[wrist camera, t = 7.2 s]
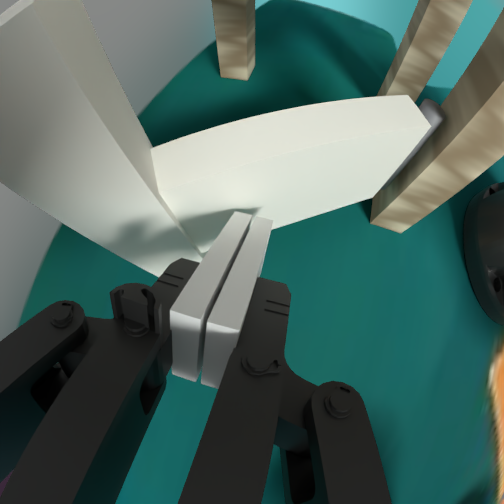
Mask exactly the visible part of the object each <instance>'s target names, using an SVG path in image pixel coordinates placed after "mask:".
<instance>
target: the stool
mask: <svg viewBox="0 0 504 504" xmlns="http://www.w3.org/2000/svg"><path fill="white" fill-rule="evenodd" d="M472 1H473V0H419V1H418V4H417V6H416V9H415V11H414V13H413V16H412V18H411V21H410V23H409V25H408V28H407V30H406V33H405V35H404V37H403V39H402V42H401V44H400V47H399V49H398V51H397V53H396V55H395V58H394V60H393V62H392V64H391V66H390V69H389V71H388V73H387V75H386V77H385V79H384V82H383V84H382V86H381V88H380V90H379V92H378V94H377V96H376V97H378V96H394V95H408V96H409V97H410V98H411V99H412V101H413V102H414V103H415V101H416V100H417V98H418V97H419V95H420V93H421V92H422V90H423V89H424V87H425V85H426V84H427V82H428V80H429V79H430V77H431V75H432V74H433V72H434V70H435V69H436V67H437V65H438V64H439V62H440V60H441V58H442V57H443V55H444V53H445V51H446V49H447V48H448V46H449V44H450V42H451V41H452V39H453V37H454V35H455V33H456V31H457V30H458V27H459V26H460V24H461V22H462V20H463V18H464V16H465V15H466V13H467V11H468V9H469V7H470V4H471V3H472ZM212 7H213V16H214V25H215V33H216V42H217V50H218V58H219V66H220V74H221V77H225V78H233V79H241V80H248V79H249V77H250V75H251V73H252V71H253V69H254V67H255V0H212ZM441 108H442V109H443V110H444V112H445V115H446V118H445V119H444V121H443V122H442V123H441V124H440V126H439V127H438V128H437V129H436V131H435V132H434V133H433V134H432V136H431V137H430V138H429V139H428V140H427V142H426V143H425V144H424V145H423V146H422V148H421V149H420V150H419V151H418V152H417V154H416V155H415V156H414V157H413V158H412V160H411V161H410V162H409V163H408V164H407V165H406V167H405V168H404V169H403V170H402V171H401V172H400V173H399V175H398V176H397V177H396V178H395V179H394V180H393V181H392V183H391V184H390V185H389V186H388V187H387V188H386V189H384V190H379V191H378V192H377V193H376V194H375V195H374V197H373V200H372V210H371V219H370V223H371V224H374V225H377V226H380V227H383V228H386V229H389V230H392V231H395V232H398V233H402V232H403V231H405V230H406V229H408V228H409V227H411V226H412V225H414V224H415V223H416V222H418V221H419V220H421V219H422V218H423V217H425V216H426V215H428V214H429V213H430V212H432V211H433V210H435V209H436V208H437V207H439V206H440V205H441V204H443V203H444V202H445V201H447V200H448V199H449V198H451V197H452V196H453V195H455V194H456V193H457V192H459V191H460V190H461V189H463V188H464V187H465V186H466V185H468V184H469V183H470V182H472V181H473V180H474V179H475V178H477V177H478V176H479V175H480V174H482V173H483V172H484V171H485V170H487V169H488V168H489V167H490V166H491V165H493V164H494V163H495V162H496V161H497V160H499V159H500V158H501V157H502V156H503V155H504V8H503V10H502V12H501V14H500V15H499V17H498V19H497V21H496V22H495V24H494V26H493V28H492V29H491V31H490V33H489V34H488V36H487V38H486V39H485V41H484V42H483V44H482V46H481V47H480V49H479V50H478V52H477V53H476V55H475V57H474V58H473V60H472V61H471V63H470V64H469V66H468V67H467V69H466V70H465V72H464V73H463V75H462V76H461V78H460V79H459V80H458V82H457V83H456V85H455V86H454V88H453V89H452V91H451V92H450V93H449V95H448V96H447V98H446V99H445V100H444V102H443V103H442V105H441Z"/></svg>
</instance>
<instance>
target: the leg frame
mask: <svg viewBox="0 0 504 504" xmlns="http://www.w3.org/2000/svg"><path fill="white" fill-rule="evenodd" d="M445 118H446V115H445V112H444V110H443V109H442V108H441V106H440V105H438V104H437V103H436V102H434V101H433V100H430V99H424V100H423V102H422V103H421V105H420V106H419V108H418V107H417V106H416V105H415V103H414V102H413V101H412V99H411V98H410V97H409V96H408V95H394V96H378V97H366V98H356V99H347V100H339V101H332V102H325V103H318V104H312V105H306V106H300V107H295V108H290V109H285V110H280V111H275V112H271V113H266V114H262V115H258V116H253V117H249V118H245V119H241V120H238V121H234V122H230V123H227V124H223V125H220V126H216V127H213V128H209V129H206V130H203V131H200V132H197V133H193V134H190V135H187V136H184V137H181V138H179V139H176V140H173V141H170V142H167V143H165V144H162V145H159V146H156V147H154V148H153V147H152V145H151V143H150V141H149V139H148V137H147V135H146V133H145V131H144V129H143V128H142V126H141V124H140V122H139V120H138V118H137V116H136V114H135V112H134V110H133V108H132V106H131V104H130V102H129V100H128V98H127V96H126V94H125V92H124V90H123V88H122V86H121V84H120V82H119V80H118V78H117V76H116V74H115V72H114V70H113V68H112V66H111V64H110V62H109V60H108V57H107V55H106V53H105V51H104V49H103V47H102V44H101V42H100V40H99V38H98V36H97V34H96V31H95V29H94V27H93V25H92V22H91V20H90V18H89V16H88V13H87V11H86V9H85V6H84V4H83V2H82V0H19V1H18V2H16V3H15V4H14V5H12V6H11V7H10V8H9V9H7V10H6V11H5V12H4V13H2V14H1V15H0V182H1V183H3V184H4V185H5V186H7V187H8V188H10V189H11V190H13V191H14V192H15V193H17V194H18V195H20V196H22V197H23V198H24V199H26V200H27V201H29V202H30V203H32V204H33V205H35V206H36V207H38V208H39V209H41V210H43V211H44V212H46V213H47V214H49V215H50V216H52V217H54V218H55V219H57V220H58V221H60V222H62V223H63V224H65V225H67V226H68V227H70V228H72V229H73V230H75V231H77V232H78V233H80V234H82V235H83V236H85V237H87V238H88V239H90V240H92V241H94V242H95V243H97V244H99V245H101V246H102V247H104V248H106V249H108V250H109V251H111V252H113V253H115V254H117V255H118V256H120V257H122V258H124V259H126V260H127V261H129V262H131V263H133V264H135V265H137V266H139V267H140V268H142V269H144V270H146V271H148V272H150V273H152V274H154V275H156V276H158V277H160V276H161V275H162V274H163V272H164V271H165V270H166V268H167V267H168V266H169V265H170V264H171V263H172V262H174V261H176V260H178V259H180V258H185V259H188V260H192V261H196V262H199V263H200V262H201V261H202V259H203V258H204V256H205V255H206V253H207V252H206V251H208V250H209V249H210V247H211V246H212V244H213V243H214V241H215V240H216V238H217V237H218V236H219V234H220V233H221V231H222V230H223V228H224V227H225V225H226V224H227V222H228V221H229V219H230V218H231V216H232V215H233V214H234V212H235V211H237V212H241V213H245V214H249V215H252V220H251V225H250V228H251V226H252V223H253V221H254V219H255V217H256V216H258V217H262V218H266V219H270V220H273V224H272V228H271V230H272V229H275V228H278V227H281V226H285V225H288V224H291V223H294V222H297V221H300V220H303V219H306V218H309V217H312V216H315V215H319V214H322V213H325V212H328V211H331V210H334V209H337V208H341V207H344V206H347V205H350V204H353V203H356V202H360V201H363V200H366V199H369V198H372V197H374V195H375V194H376V193H377V192H378V191H379V190H384V189H386V188H387V187H388V186H389V185H390V184H391V183H392V181H393V180H394V179H395V178H396V177H397V176H398V175H399V173H400V172H401V171H402V170H403V169H404V168H405V167H406V165H407V164H408V163H409V162H410V161H411V160H412V158H413V157H414V156H415V155H416V154H417V152H418V151H419V150H420V149H421V148H422V146H423V145H424V144H425V143H426V142H427V140H428V139H429V138H430V137H431V136H432V134H433V133H434V132H435V131H436V129H437V128H438V127H439V126H440V124H441V123H442V122H443V121H444V119H445Z"/></svg>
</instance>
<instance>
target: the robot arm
mask: <svg viewBox="0 0 504 504" xmlns="http://www.w3.org/2000/svg"><path fill="white" fill-rule="evenodd" d="M251 220H252V215H249V214H245V213H241V212H237V211H235V212H234V214H233V215H232V216H231V218H230V219H229V221H228V222H227V224H226V225H225V227H224V228H223V230H222V231H221V233H220V234H219V236H218V237H217V238H216V240H215V241H214V243H213V244H212V246H211V247H210V249H209V250H208V252H207V253H206V255H205V256H204V258H203V259H202V261H201V262H200V263H199V262H196V261H192V260H188V259H185V258H180V259H178V260H176V261H174V262H172V263H171V264H170V265H169V266H168V267H167V268H166V270H165V271H164V272H163V274H162V275H161V276H160V277H159V278H158V280H157V281H156V282H155V283H154V285H153V286H152V287H149V286H147V285H145V284H139V283H129V284H124V285H121V286H118V287H116V288H115V289H113V290H112V291H111V292H110V298H111V304H112V309H113V314H114V318H113V319H101V318H93V317H86V316H85V313H84V310H83V308H82V307H81V306H80V305H79V304H77V303H76V302H74V301H67V300H64V301H58V302H55V303H53V304H51V305H50V306H48V307H47V308H45V309H44V310H42V311H41V312H40V313H38V314H37V315H35V316H34V317H33V318H31V319H30V320H28V321H27V322H26V323H24V324H23V325H21V326H20V327H19V328H17V329H16V330H15V331H14V332H12V333H11V334H9V335H8V336H7V337H6V338H4V339H3V340H2V341H0V483H1V482H2V481H3V480H4V479H5V478H6V477H7V476H8V475H9V473H10V472H11V471H12V470H13V469H14V468H15V469H14V471H13V473H12V474H11V476H10V478H9V480H8V482H7V484H6V487H5V489H4V491H3V493H2V495H1V497H0V504H115V502H116V500H117V498H118V495H119V493H120V490H121V488H122V486H123V483H124V481H125V479H126V476H127V474H128V472H129V469H130V467H131V465H132V462H133V460H134V458H135V455H136V453H137V451H138V449H139V446H140V444H141V442H142V439H143V437H144V435H145V433H146V430H147V428H148V426H149V424H150V421H151V419H152V417H153V415H154V413H155V410H156V408H157V406H158V404H159V402H160V399H161V397H162V395H163V393H164V391H165V387H166V376H167V374H168V372H169V370H170V368H171V366H172V374H174V375H177V376H179V377H182V378H185V379H188V380H191V381H194V382H196V381H197V378H198V376H199V373H200V371H201V368H202V378H201V384H204V385H207V386H211V387H214V388H218V392H217V395H216V398H215V400H214V403H213V406H212V409H211V412H210V415H209V418H208V421H207V423H206V426H205V429H204V432H203V435H202V438H201V440H200V443H199V446H198V449H197V452H196V454H195V457H194V460H193V463H192V466H191V468H190V471H189V474H188V477H187V480H186V482H185V485H184V488H183V491H182V493H181V496H180V499H179V501H178V504H261V501H262V497H263V492H264V488H265V483H266V479H267V474H268V469H269V464H270V459H271V454H272V449H273V444H275V445H277V446H279V447H280V455H281V464H282V473H283V483H284V493H285V502H286V504H392V503H391V499H390V495H389V491H388V487H387V482H386V478H385V475H384V471H383V467H382V463H381V459H380V456H379V452H378V448H377V445H376V441H375V438H374V434H373V431H372V428H371V424H370V421H369V418H368V414H367V411H366V408H365V405H364V402H363V400H362V398H361V396H360V394H359V393H358V392H357V391H356V390H355V389H354V388H353V387H352V386H349V385H347V384H345V383H343V382H336V381H331V382H326V383H323V384H321V385H320V386H316V385H314V384H312V383H310V382H308V381H306V380H304V379H302V378H301V377H299V376H298V375H296V374H295V373H294V372H293V371H292V370H291V369H290V368H289V366H288V365H287V363H286V360H285V357H284V348H285V341H286V333H287V325H288V315H289V307H290V300H291V294H290V291H289V289H288V287H287V285H286V284H284V283H280V282H276V281H272V280H268V279H264V278H260V274H261V270H262V266H263V262H264V257H265V253H266V249H267V245H268V241H269V237H270V233H271V228H272V224H273V220H270V219H266V218H262V217H258V216H256V217H255V219H254V221H253V223H252V226H251V228H250V225H251ZM463 239H464V252H465V259H466V264H467V269H468V273H469V277H470V280H471V284H472V287H473V289H474V292H475V294H476V297H477V299H478V301H479V303H480V305H481V306H482V308H483V310H484V311H485V312H486V314H487V315H488V316H489V317H490V318H491V319H492V320H493V321H495V322H496V323H498V324H501V325H504V182H502V183H496V184H492V185H490V186H488V187H486V188H485V189H483V190H482V191H481V192H479V193H478V194H476V195H475V196H474V197H473V198H472V200H471V201H470V203H469V205H468V207H467V210H466V214H465V219H464V230H463ZM57 362H59V363H57ZM56 363H57V364H56ZM202 366H203V367H202Z"/></svg>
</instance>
